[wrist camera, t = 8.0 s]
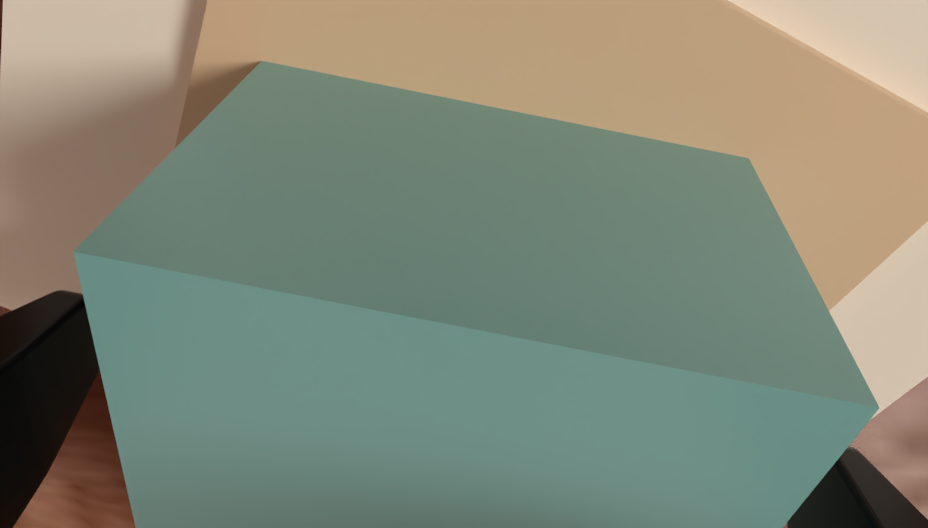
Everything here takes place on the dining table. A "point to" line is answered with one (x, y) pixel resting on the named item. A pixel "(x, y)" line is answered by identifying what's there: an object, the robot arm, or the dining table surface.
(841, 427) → the mint green cube
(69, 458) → the dining table surface
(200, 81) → the board
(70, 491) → the dining table surface
